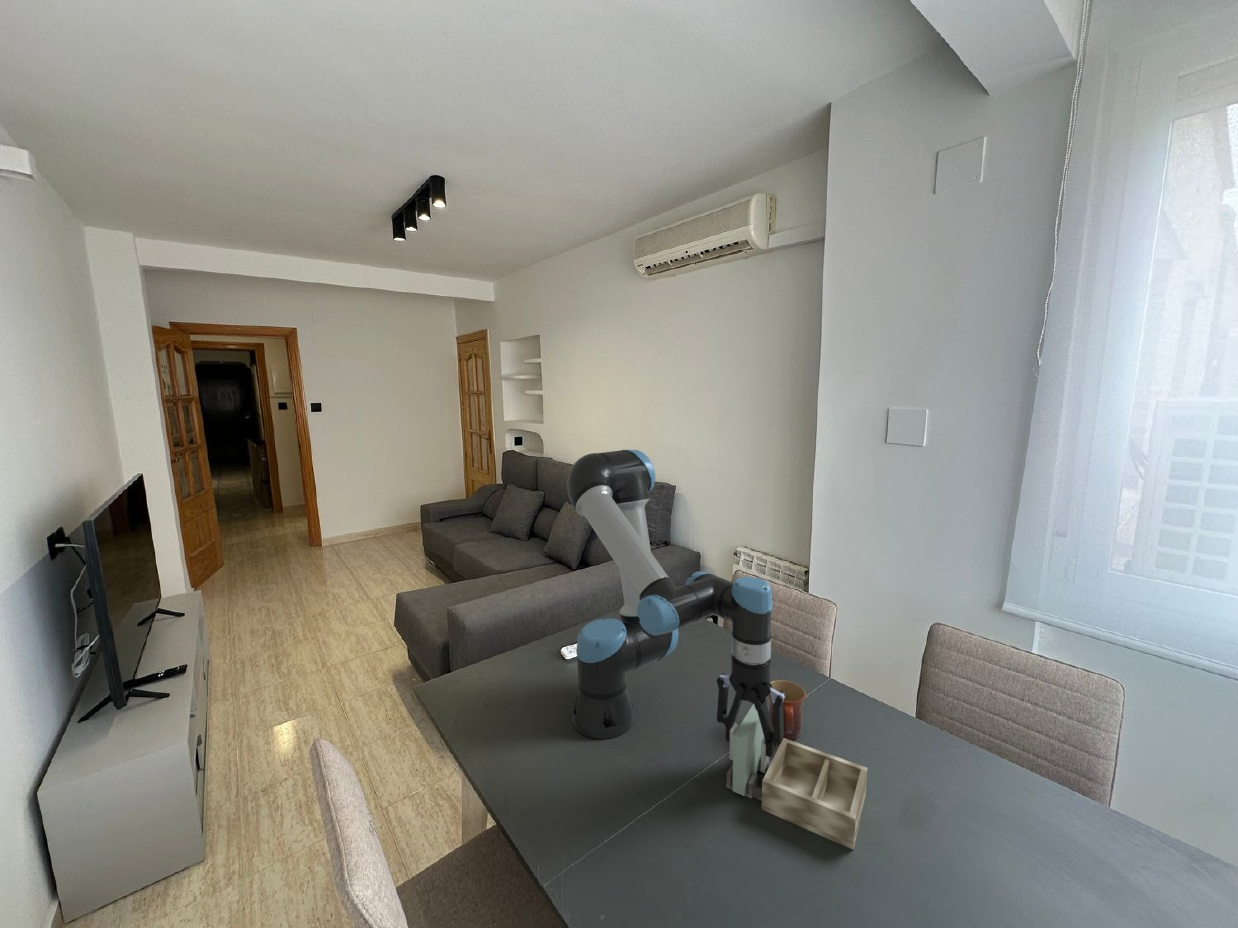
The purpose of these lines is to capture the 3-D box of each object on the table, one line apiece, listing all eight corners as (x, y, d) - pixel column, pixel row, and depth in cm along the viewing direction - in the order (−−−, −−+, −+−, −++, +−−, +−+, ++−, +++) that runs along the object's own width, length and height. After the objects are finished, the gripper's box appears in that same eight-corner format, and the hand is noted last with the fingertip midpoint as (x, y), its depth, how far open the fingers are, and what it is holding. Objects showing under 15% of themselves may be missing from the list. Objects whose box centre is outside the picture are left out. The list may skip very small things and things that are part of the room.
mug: (763, 717, 123) (764, 678, 121) (801, 721, 121) (802, 681, 119) (767, 751, 111) (768, 708, 109) (809, 757, 109) (811, 713, 108)
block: (729, 789, 100) (730, 734, 98) (750, 753, 110) (751, 702, 108) (744, 796, 98) (745, 739, 96) (763, 758, 108) (765, 706, 106)
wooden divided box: (723, 792, 100) (723, 764, 99) (747, 750, 112) (748, 725, 111) (853, 849, 87) (855, 818, 86) (865, 795, 99) (867, 767, 98)
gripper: (699, 651, 103) (698, 755, 106) (794, 679, 92) (790, 793, 96) (714, 636, 109) (713, 734, 112) (804, 660, 99) (800, 768, 102)
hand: (748, 761), depth 104 cm, fingers open, 6 cm apart
